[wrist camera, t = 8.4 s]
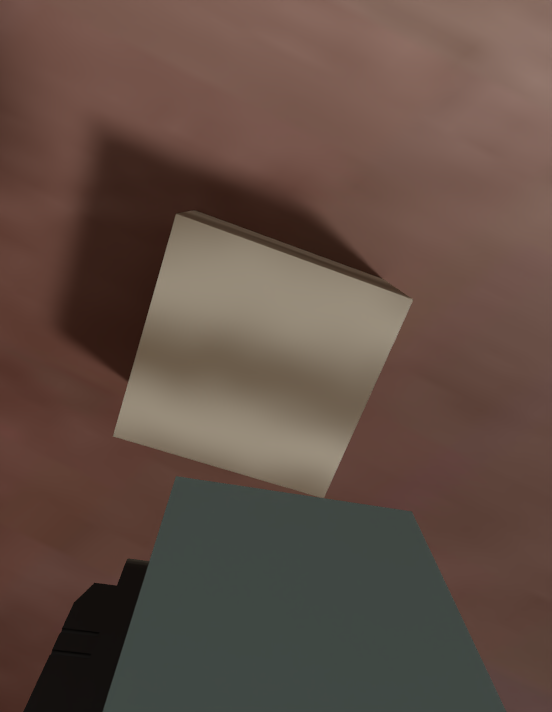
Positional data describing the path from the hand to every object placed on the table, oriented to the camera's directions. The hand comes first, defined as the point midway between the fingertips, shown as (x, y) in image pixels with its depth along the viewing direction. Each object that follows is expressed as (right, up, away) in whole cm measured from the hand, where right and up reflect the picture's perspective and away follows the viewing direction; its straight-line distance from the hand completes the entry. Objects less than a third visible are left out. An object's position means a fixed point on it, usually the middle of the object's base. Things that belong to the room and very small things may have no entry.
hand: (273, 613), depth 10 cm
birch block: (-1, +7, +18) cm, 19 cm away
